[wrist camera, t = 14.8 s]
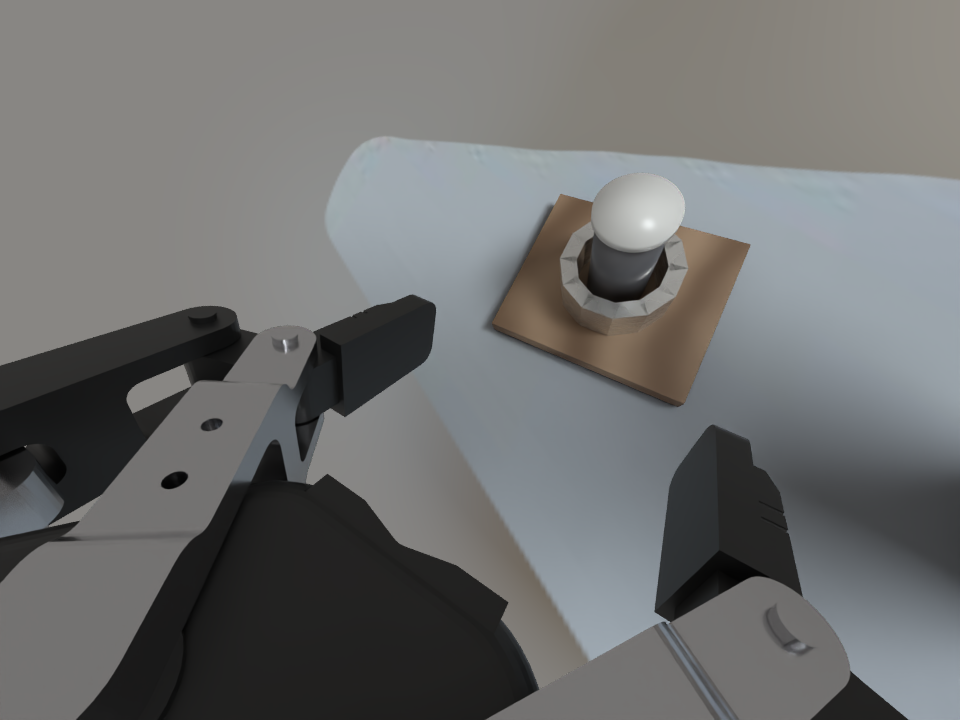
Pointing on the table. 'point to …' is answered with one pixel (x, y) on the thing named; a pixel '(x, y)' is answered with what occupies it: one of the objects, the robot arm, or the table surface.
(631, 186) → the white capped grey cylinder
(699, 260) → the mount board
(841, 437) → the table surface
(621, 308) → the faceted white ring
